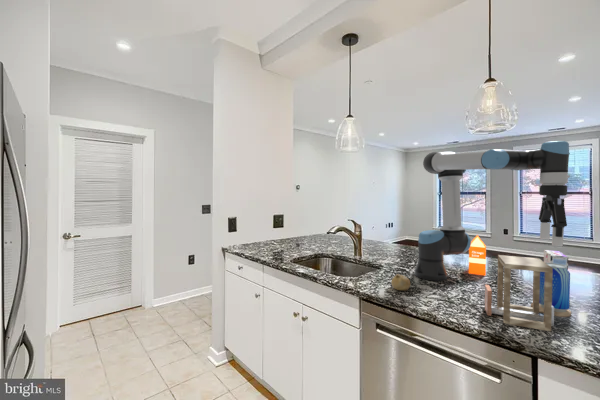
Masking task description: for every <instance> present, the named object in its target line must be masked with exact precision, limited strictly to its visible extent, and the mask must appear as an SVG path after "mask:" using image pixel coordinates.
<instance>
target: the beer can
mask: <svg viewBox="0 0 600 400" xmlns="http://www.w3.org/2000/svg"><path fill="white" fill-rule="evenodd" d="M546 264H548V265H549V266H550V267H552V268H553V276H552V306H553V307H554V311H555V312H566V311H567V310H569V309H570V290H571V289H570V288H571V273H570V271H569V269H568V270H567V267H566V266H564V265H561V264H555V263H546ZM544 283H545V272H540V296H539V304H540V305H541V307H542V308H544Z"/></svg>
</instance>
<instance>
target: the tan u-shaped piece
mask: <svg viewBox="0 0 600 400" xmlns="http://www.w3.org/2000/svg"><path fill="white" fill-rule="evenodd" d="M492 292H493V290H492V288H491V286H490V285H489V284H484V309H485V314H486V316H490V317H492V314H494V315H499V316H503V309H504V308H502V307H497V305H496V306H494V305H492V304H493V303H492V302H493V301H492V297H493V295H492V294H493V293H492ZM510 317H515V318H521V319H527V320H534V321H540V322H544V313H541V312H539V313H534V312H528V311H521V310H515V309H510ZM552 326H553V327H554V326H555V316H554V307H553V306H552V317H551V327H552Z"/></svg>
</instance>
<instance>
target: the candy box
mask: <svg viewBox="0 0 600 400" xmlns="http://www.w3.org/2000/svg"><path fill="white" fill-rule="evenodd" d="M543 262H545V263H555V264H561V265H564V266H566V267H567V270H568V271H569V256H568V255H566V254H564V253H563V252H561V251H558V250H550V249H544V250H543Z"/></svg>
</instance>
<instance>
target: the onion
mask: <svg viewBox="0 0 600 400" xmlns="http://www.w3.org/2000/svg"><path fill="white" fill-rule="evenodd" d="M410 280H411V279H409V278H408V277H407V276H405V275H404V274H399V273H397V274H395V276H393V277H392V279H391V286H392V288H393V289H394V290H397V291H404V292H407V291H408V290H409V289H410V287H411V281H410Z"/></svg>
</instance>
